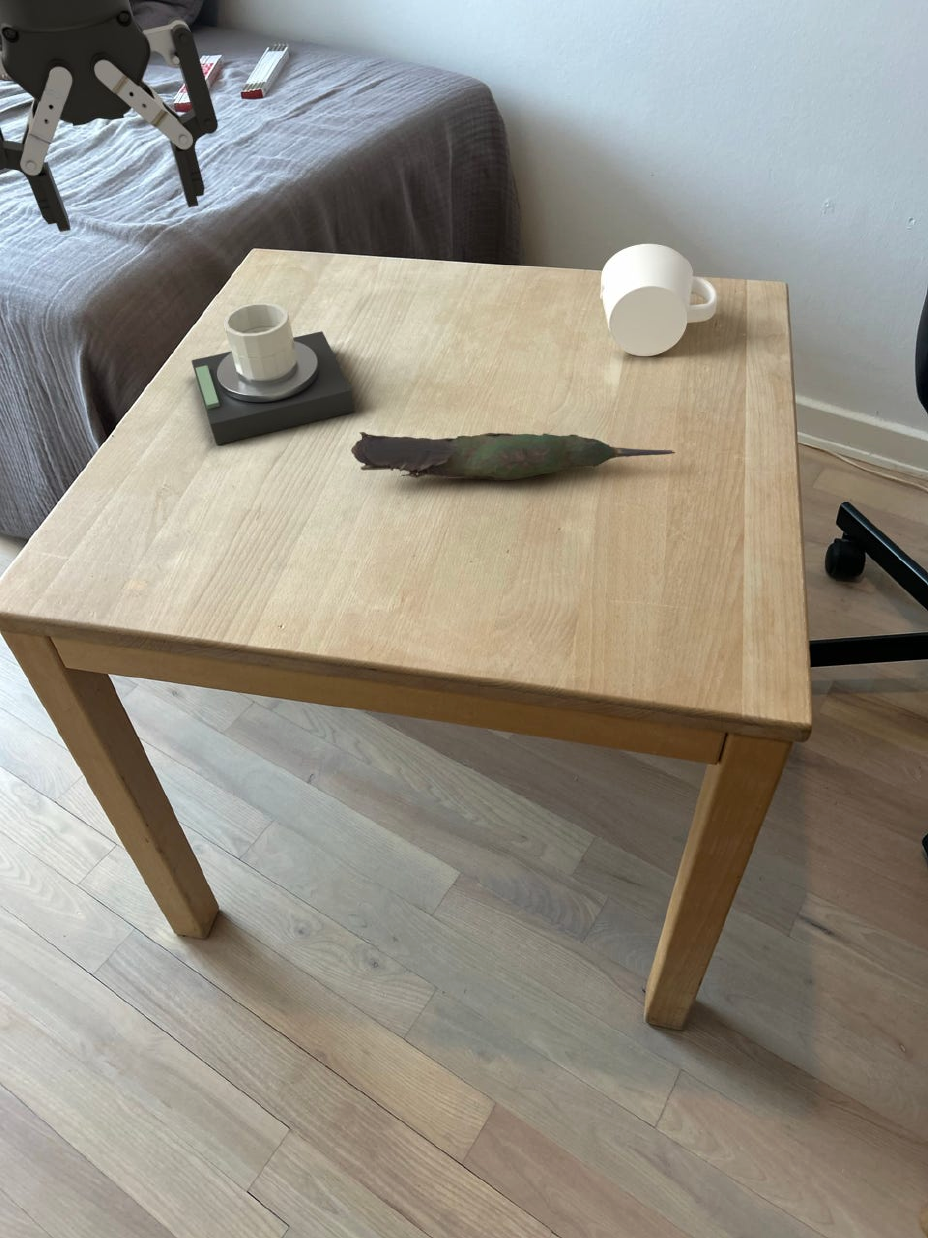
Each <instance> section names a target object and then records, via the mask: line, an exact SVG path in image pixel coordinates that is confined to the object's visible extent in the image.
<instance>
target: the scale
mask: <svg viewBox="0 0 928 1238" xmlns="http://www.w3.org/2000/svg"><path fill="white" fill-rule="evenodd" d="M293 339H294V341H295V342H299V343H301V344H304V345H306V346H307V347H309V348H310V349H311V350H312V351H313V352H314V353H315V355H316V357H317V360H318V366H319V370H318V374H317V377H316V378H315V380H314V381H313V382H312V383H311V384H310V385H309V386H308V387H307V388H305V389H304V390H303V391H301V392H299V393H297V394H295V395H293V396H290V397H287V398H284V399H281V400H276V401H269V402H249V401H243V400H239V399H236V398H234V397H231V396H230V395H228V394H227V393H226V392H224V391H223V389H222V388H221V386H220V384H219V380H218V376H217V370H218V367H219V365H220V363H221V362H222V360H223V359H224V358H225V357H226V356H227V355H229V354H230V353H231V351H226V352H222V353H217V354H213V355H209V356H205V357H204V356H203V357H200V358H196V359H191V365H192V368H193V371H194V375H195V378H196V381H197V384H198V389H199V392H200V395H201V399H202V402H203V405H204V406H203V407H204V409H205V413H206V415H207V419H208V422H209V425H210V426H209V427H210V429H211V432H212V435H213V439H214V443H215V445H216V446H219V445H224V444H227V443H232V442H236V441H240V440H244V439H248V438H252V437H257V436H261V435H265V434H269V433H273V432H277V431H282V430H285V429H289V428H293V427H298V426H301V425H305V424H309V423H314V422H319V421H322V420H325V419H330V418H335V417H338V416H342V415H346V414H351V413H354V412H355V411H356V407H355V402H354V401H355V400H354V395H353V394H354V393H353V390H352V388H351V386H350V383H349V382H348V379H347V378H346V376H345V374H344V372H343V370H342V368H341V366H340V364H339V361H338V360H337V358H336V356H335V353H334V351H333V350H332V347H331V346H330V344H329V342H328V340H327V337H326V336H325V334H324V331H316V332H312V333H308V334H303V335H299V336H293Z"/></svg>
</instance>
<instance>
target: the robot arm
mask: <svg viewBox="0 0 928 1238" xmlns="http://www.w3.org/2000/svg"><path fill="white" fill-rule="evenodd" d="M0 36H1V50H0V77H1V76H2V75H5V74H6V75H7V76H8V77H9V78H10V79H11V80H12V81H13V82H15V84H16V85H18V86H19V87H20V88H21V89H23V90H24V91H25V92H26V93H27V94H28V95H29V96H31V98H33V99H32V101H31V106H30V108H29V111H28V116H27V121H26V124H25V128H24V131H23V133H22V137H21V141H20V142H19V141H11V140H8V139H7V140H6V138H5V136H4V133H3V130H2V128H1V127H0V171H3V170H5V169H7V170H11V171H17V172H20V173H21V174H23V175H24V176H25V178H26V180H27V181H28V184H29V187H30V189H31V192H32V194H33V196H34V199H35V201H36V204H37V207H38V209H39V212H40V214H41V216H42V218H43V220H44V221H45V222H46V223H47V225H56V226H57V229H58V231H59V233H64V232H69V231H71V230H72V229H71V224H70V223H71V222H70V218H69V215H68V212H67V210H66V208H65V203H64V201H63V199H62V196H61V193H60V190H59V188H58V186H57V183H56V180H55V177H54V175H53V172H52V170H51V167H50V164H49V162H48V161H45V160H46V157H47V154H48V151H49V148H50V146H51V144H52V142H53V140H54V137H55V134H56V131H57V128H58V125H59V121H62V122H65V123H68V124H72V127H78V126H83V125H87V124H89V123H92V122H93V121H95V120H98V119H100V120H109V121H114V120H120V119H125V116H124V115H126V114H128V113H129V112H130V111H131V110H132V109H133V110H134V112H136V113H137V114H138V115H139V116H140V117H141V118H142V119H144V120H145V122H147V123H148V124H149V125H150V126H152V127H154V128H156V129H157V130H158V131H159V132H160V133H161V134H163V135H164V137H166V138H167V139H168V140H169V144H170V148H171V151H172V155H173V159H174V163H175V166H176V167H175V168H176V171H177V174H178V177H179V182H180V185H181V188H182V192H183V196H184V200H185V202H186V205H187V208H195V207H199V201H198V197H202V196H204V195H205V188H206V187H205V183H204V180H203V179H204V178H203V175H202V172H201V168H200V163H199V159H198V156H197V152H196V144H197V142H198V141H199V139H200V138H202V137H203V136H205V135H207V134H208V135H212V134H214V133H215V132H216V131H217V130H218V128H219V122H218V118H217V115H216V112H215V111H216V110H215V108H214V105H213V101H212V98H211V97H212V96H211V94H210V91H209V86H208V83H207V81H206V76H205V72H204V69H203V66H202V63H201V59H200V56H199V52H198V49H197V45H196V41H195V38H194V35H193V33H192V32H191V30H190V28H189V26H188V24H187V22H186V21H185V20H184V19H183V18H181V17H180V16H173V17H172V18H170V19H169V20H168V22H167V25H161V26H158V27H153V28H149V29H144V30H143V28H142V27H141V26H140V25H139V23H138V21H136V19H135V17H134V13H133V11H132V6H131V2H130V0H0ZM152 52H156V53H158V54H160V55H161V56H162V57H163V59H164V61H165V63H166V65H168V66H169V67H170V68H173V69H179V70H180V73H181V76H182V79H183V83H184V86H185V87H184V88H185V91H186V93H187V97H188V100H189V103H190V107H191V109H189V110H187V111H186V112H184V113H183V114H181V115H180V114H178V112H176V111H175V109H173V108H172V107H171V106H170V105H169V104H168V103H166V101H164V100H163V98H162V97H161V96H160V94H158V93H157V92H156V91H155V90H154V89H153V88H152V87H151V86H150V85H149V84H148V83H147V82H146V81H145V80H144V77H145V73H146V71H147V68H148V65H149V63H150V59H151V55H152Z"/></svg>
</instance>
